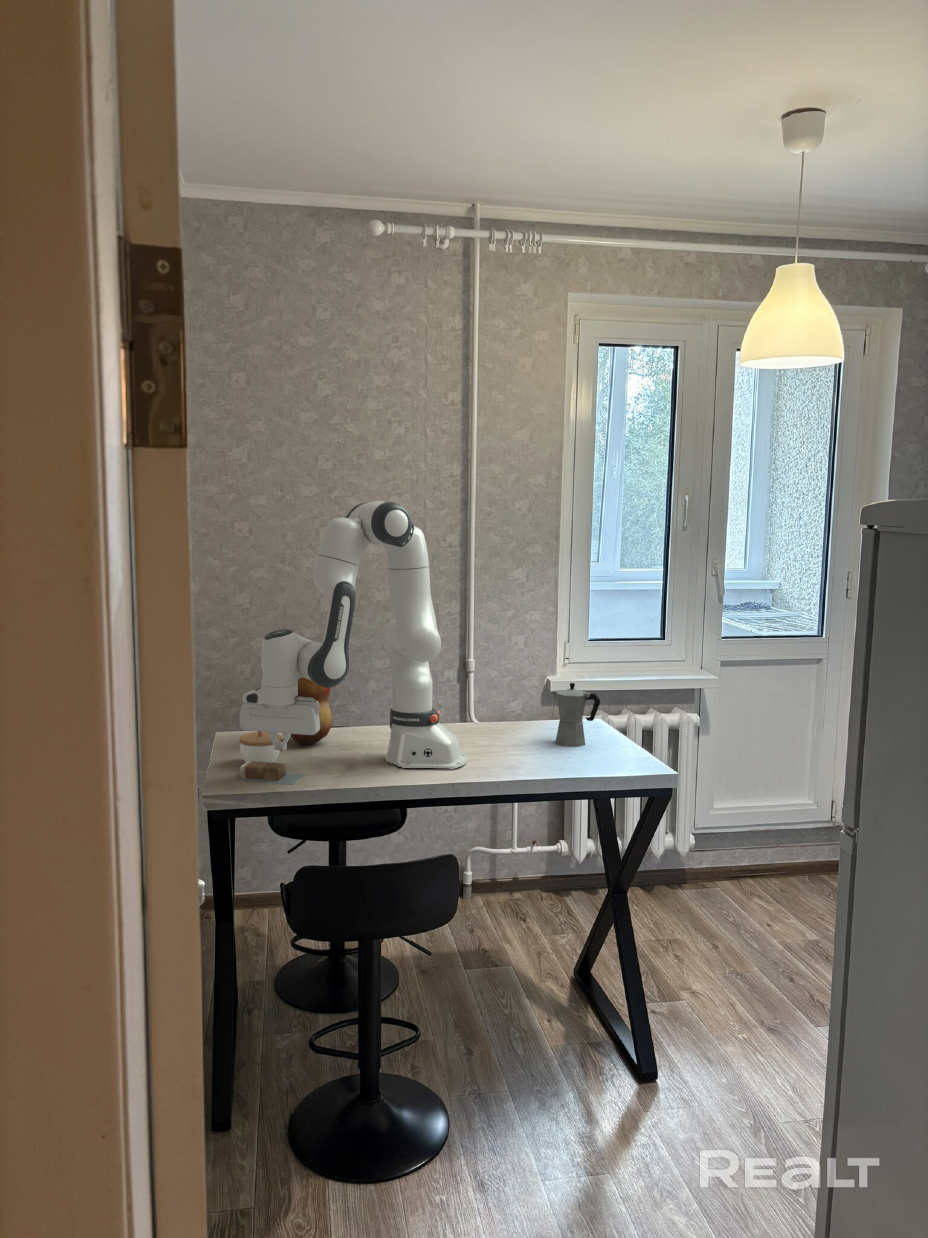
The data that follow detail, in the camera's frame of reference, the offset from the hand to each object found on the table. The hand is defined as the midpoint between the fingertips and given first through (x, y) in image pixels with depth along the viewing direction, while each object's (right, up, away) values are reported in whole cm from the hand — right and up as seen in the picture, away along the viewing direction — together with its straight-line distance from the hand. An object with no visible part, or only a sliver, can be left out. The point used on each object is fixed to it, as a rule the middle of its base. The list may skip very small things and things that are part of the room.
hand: (280, 749), depth 233 cm
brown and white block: (0, -6, +1) cm, 6 cm away
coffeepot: (+79, -4, +42) cm, 89 cm away
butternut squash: (+1, -4, +37) cm, 37 cm away
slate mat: (-2, -8, +1) cm, 8 cm away
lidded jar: (-8, -6, +14) cm, 18 cm away
